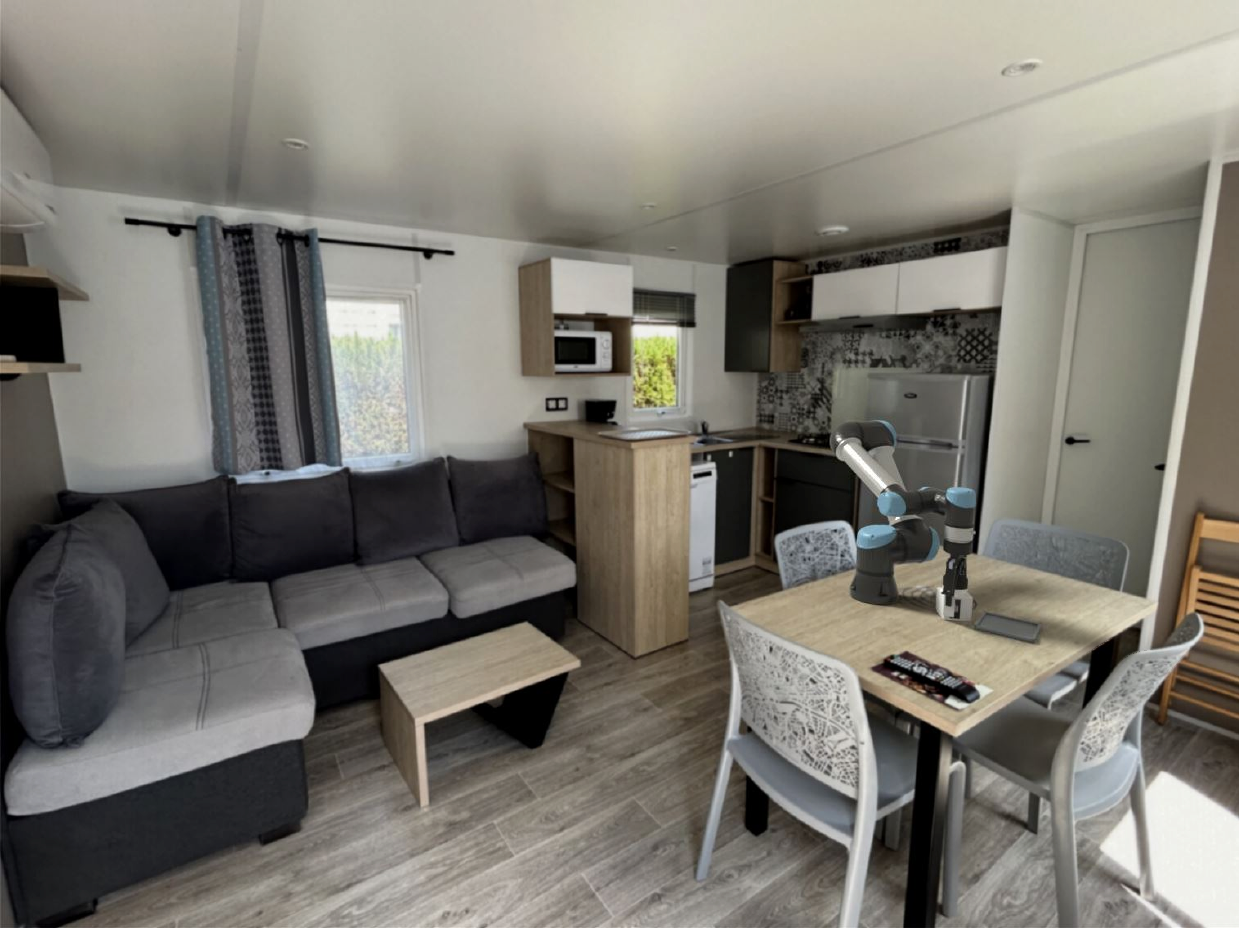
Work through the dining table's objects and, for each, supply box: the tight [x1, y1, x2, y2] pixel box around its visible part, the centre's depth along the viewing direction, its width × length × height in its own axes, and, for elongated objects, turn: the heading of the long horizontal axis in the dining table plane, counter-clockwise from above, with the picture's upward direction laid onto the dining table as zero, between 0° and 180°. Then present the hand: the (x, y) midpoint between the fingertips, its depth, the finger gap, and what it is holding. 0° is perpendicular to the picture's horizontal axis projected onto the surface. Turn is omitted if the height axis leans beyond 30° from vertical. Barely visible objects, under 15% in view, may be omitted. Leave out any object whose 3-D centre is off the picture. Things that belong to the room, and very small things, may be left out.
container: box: [935, 574, 974, 622], centre depth 177 cm, size 8×8×13 cm
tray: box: [972, 610, 1043, 645], centre depth 169 cm, size 14×14×1 cm
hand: (953, 610), depth 178 cm, fingers closed on container, 10 cm apart
